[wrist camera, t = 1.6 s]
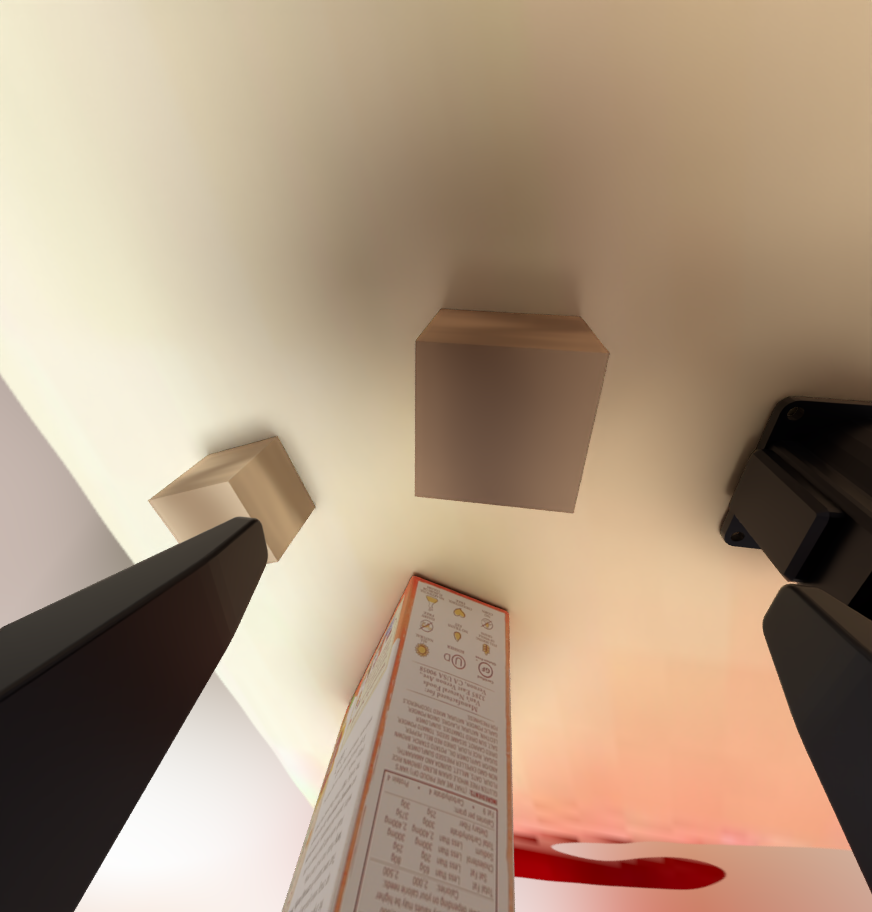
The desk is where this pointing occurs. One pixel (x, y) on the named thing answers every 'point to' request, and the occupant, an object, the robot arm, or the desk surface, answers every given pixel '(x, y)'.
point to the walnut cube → (505, 407)
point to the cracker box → (420, 771)
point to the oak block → (238, 495)
